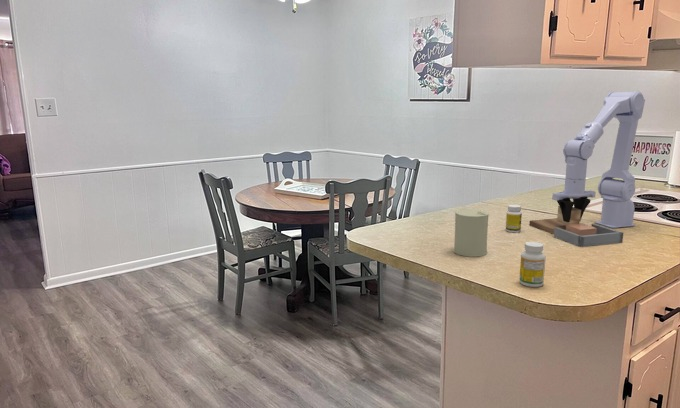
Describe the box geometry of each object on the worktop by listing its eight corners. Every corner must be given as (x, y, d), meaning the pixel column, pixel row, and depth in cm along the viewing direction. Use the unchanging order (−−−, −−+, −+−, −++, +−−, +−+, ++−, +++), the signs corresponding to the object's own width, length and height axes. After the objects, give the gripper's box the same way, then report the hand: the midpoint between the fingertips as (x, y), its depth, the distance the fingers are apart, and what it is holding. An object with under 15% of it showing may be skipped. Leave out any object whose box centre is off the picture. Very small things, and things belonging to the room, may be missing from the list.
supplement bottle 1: (521, 233, 159) (523, 207, 157) (506, 232, 160) (507, 207, 158) (519, 229, 163) (521, 204, 162) (504, 228, 164) (506, 204, 163)
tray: (593, 232, 158) (594, 223, 157) (622, 242, 147) (623, 232, 146) (553, 236, 154) (554, 227, 153) (580, 247, 143) (581, 237, 142)
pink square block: (581, 232, 156) (582, 222, 156) (595, 237, 151) (596, 228, 150) (565, 233, 155) (566, 224, 154) (579, 239, 149) (580, 229, 149)
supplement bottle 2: (539, 289, 112) (542, 248, 110) (515, 284, 115) (518, 244, 113) (546, 282, 116) (549, 243, 114) (524, 277, 119) (526, 239, 117)
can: (481, 258, 134) (483, 215, 131) (448, 253, 138) (450, 212, 136) (490, 250, 141) (493, 209, 139) (459, 245, 146) (461, 206, 144)
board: (556, 222, 171) (556, 218, 171) (586, 232, 158) (586, 227, 158) (529, 225, 168) (529, 220, 168) (557, 235, 155) (557, 230, 155)
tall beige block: (566, 220, 161) (567, 205, 160) (579, 225, 156) (581, 210, 154) (556, 221, 160) (558, 206, 159) (569, 226, 155) (571, 210, 153)
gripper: (585, 175, 159) (581, 216, 162) (547, 178, 155) (543, 219, 158) (602, 178, 152) (598, 221, 155) (562, 181, 149) (559, 225, 151)
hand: (571, 220), depth 156 cm, fingers closed on tall beige block, 4 cm apart
